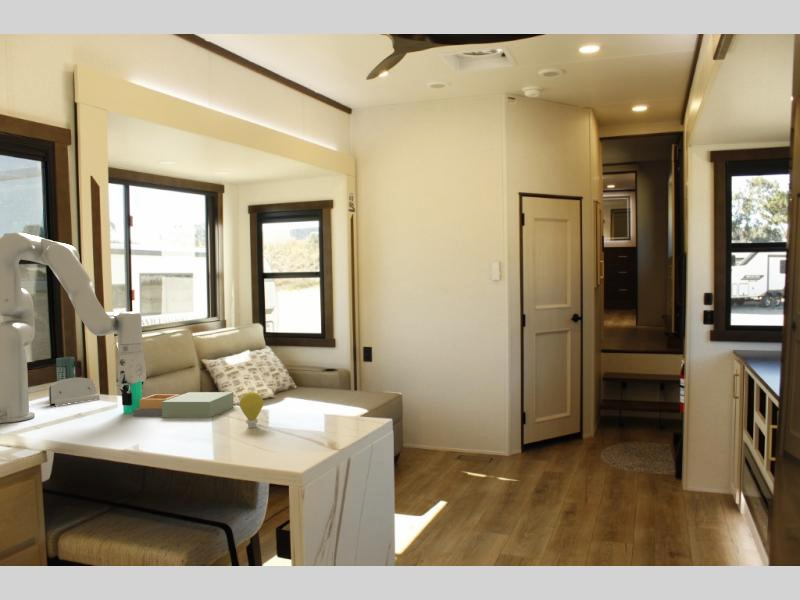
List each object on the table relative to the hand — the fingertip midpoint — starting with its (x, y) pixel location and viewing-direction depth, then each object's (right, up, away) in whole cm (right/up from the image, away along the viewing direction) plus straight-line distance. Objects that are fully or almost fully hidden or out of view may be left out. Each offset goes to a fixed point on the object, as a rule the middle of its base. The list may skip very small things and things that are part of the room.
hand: (132, 402), depth 218 cm
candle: (0, -3, 0) cm, 3 cm away
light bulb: (+46, -3, -28) cm, 54 cm away
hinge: (-31, -4, +23) cm, 39 cm away
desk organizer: (+18, -3, -3) cm, 18 cm away
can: (-40, -3, +36) cm, 54 cm away
